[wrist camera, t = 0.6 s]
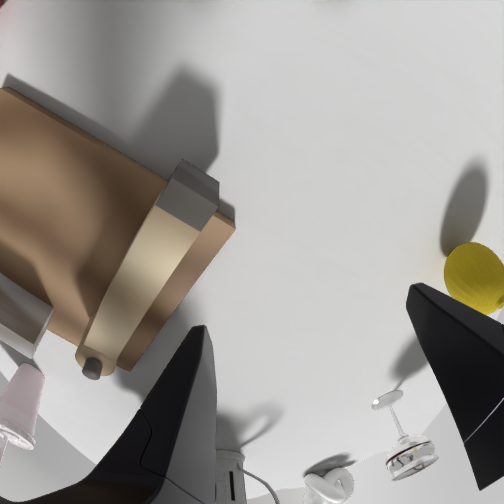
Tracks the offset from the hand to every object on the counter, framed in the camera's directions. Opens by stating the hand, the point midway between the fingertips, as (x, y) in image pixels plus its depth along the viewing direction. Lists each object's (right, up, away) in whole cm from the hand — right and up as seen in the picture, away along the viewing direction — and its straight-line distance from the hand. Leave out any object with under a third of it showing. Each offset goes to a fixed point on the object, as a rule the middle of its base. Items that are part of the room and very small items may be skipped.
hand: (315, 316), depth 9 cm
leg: (-10, +1, +11) cm, 15 cm away
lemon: (+17, +2, +15) cm, 22 cm away
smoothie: (-29, -13, +19) cm, 37 cm away
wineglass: (+17, -19, +27) cm, 37 cm away
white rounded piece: (+13, -46, +42) cm, 64 cm away
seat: (-16, +2, +11) cm, 20 cm away
